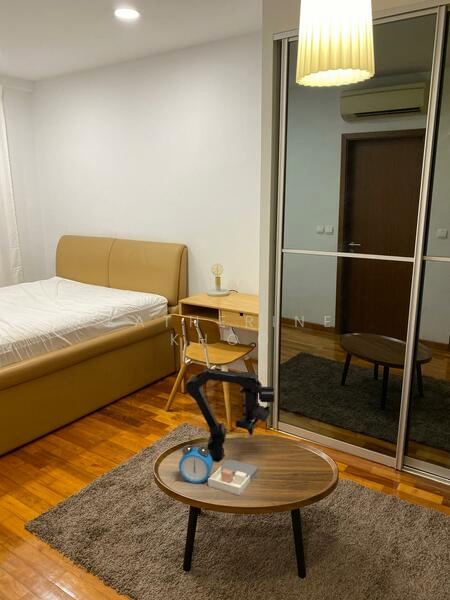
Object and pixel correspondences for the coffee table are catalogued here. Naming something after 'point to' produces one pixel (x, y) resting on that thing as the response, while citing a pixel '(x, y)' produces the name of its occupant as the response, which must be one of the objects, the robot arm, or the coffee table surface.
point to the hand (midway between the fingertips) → (251, 434)
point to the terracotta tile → (226, 476)
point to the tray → (227, 484)
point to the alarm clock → (195, 463)
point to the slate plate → (240, 468)
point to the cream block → (240, 477)
